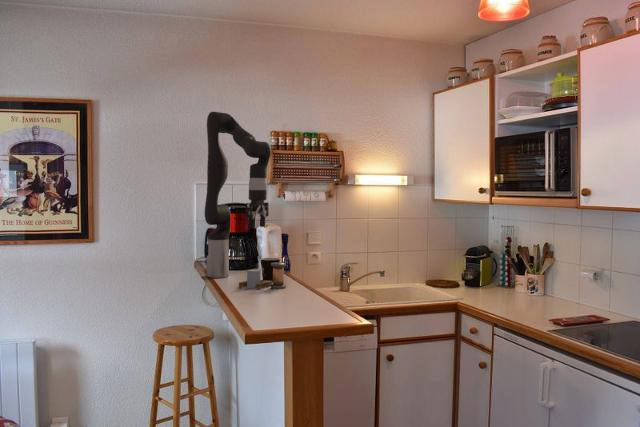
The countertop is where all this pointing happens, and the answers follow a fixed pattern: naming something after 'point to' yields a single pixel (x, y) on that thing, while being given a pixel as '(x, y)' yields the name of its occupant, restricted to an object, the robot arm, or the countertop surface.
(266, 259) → the coffee mug
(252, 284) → the grey rectangular block
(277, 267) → the bobbin
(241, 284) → the u-shaped bracket
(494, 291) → the countertop surface
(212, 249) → the robot arm
